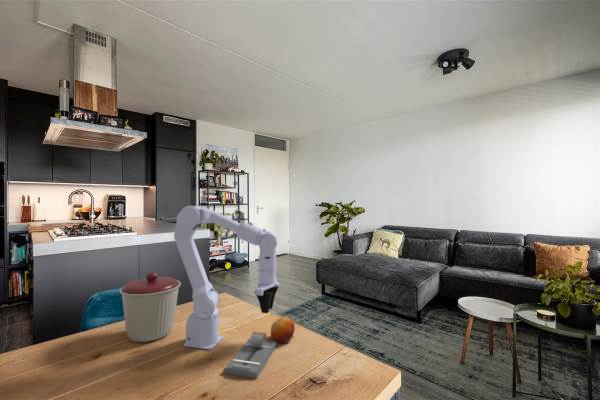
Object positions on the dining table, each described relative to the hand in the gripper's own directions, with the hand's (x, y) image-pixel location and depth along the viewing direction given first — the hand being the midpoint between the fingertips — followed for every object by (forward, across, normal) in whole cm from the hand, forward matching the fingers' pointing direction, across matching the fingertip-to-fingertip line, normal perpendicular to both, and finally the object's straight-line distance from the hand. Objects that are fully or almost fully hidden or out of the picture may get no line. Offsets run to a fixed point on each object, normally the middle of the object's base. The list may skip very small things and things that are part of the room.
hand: (266, 310), depth 89 cm
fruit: (+10, +2, -5) cm, 11 cm away
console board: (+9, -12, 0) cm, 15 cm away
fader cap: (+8, -8, 0) cm, 11 cm away
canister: (+10, -6, +39) cm, 41 cm away
